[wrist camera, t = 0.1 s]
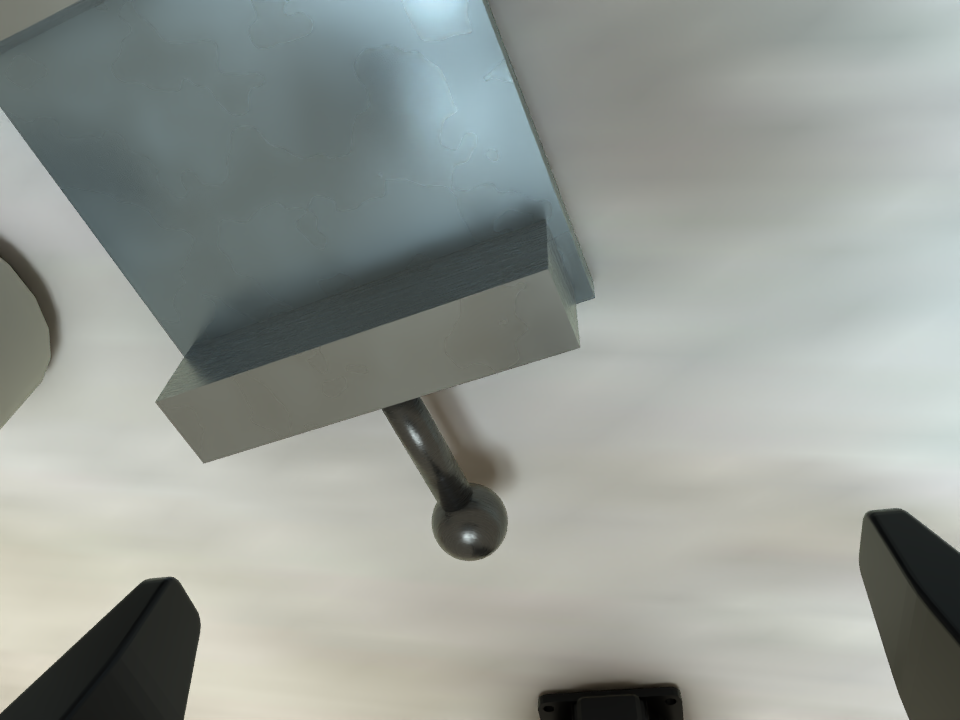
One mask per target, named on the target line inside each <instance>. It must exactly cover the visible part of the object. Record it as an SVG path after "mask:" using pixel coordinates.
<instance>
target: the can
mask: <svg viewBox="0 0 960 720" xmlns="http://www.w3.org/2000/svg"><path fill="white" fill-rule="evenodd" d="M50 359H51V353H50V337H49V328H48V326H47V324H46V321H45V319H44V317H43V314H42V312H41V310H40V307H39V305H38V303H37V300H36V298H35V297H34V295H33V294H32V293H31V291H30V290H29V289H28V288H27V286H26V285H25V284H24V283H23V281H22V280H21V279H20V278H19V276H18V275H17V274H16V273H15V271H14V270H13V269H12V268H11V266H10V265H9V264H8V263H7V262H5V261H4V260H3V259H2V258H0V429H1V428H2V427H3V426H4V424H5V423H6V422H7V421H8V420H9V419H10V418H11V416H12V415H13V414H14V413H15V412H16V411H17V410H18V408H19V407H20V406H21V405H22V404H23V403H24V402H25V400H26V399H27V398H28V397H29V396H30V395H31V394H32V392H33V391H34V390H35V389H36V388H37V387H38V386H39V384H40V383H41V382H42V380H43V377H44V375H45V372H46V369H47V367H48V364H49V362H50Z"/></svg>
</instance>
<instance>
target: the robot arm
mask: <svg viewBox="0 0 960 720" xmlns="http://www.w3.org/2000/svg"><path fill="white" fill-rule="evenodd" d="M859 566H860V571H861V575H862V579H863V582H864V585H865V589H866V592H867V595H868V598H869V601H870V605H871V608H872V611H873V614H874V617H875V621H876V624H877V627H878V630H879V633H880V637H881V640H882V643H883V646H884V649H885V653H886V656H887V659H888V662H889V665H890V669H891V672H892V675H893V678H894V681H895V684H896V687H897V690H898V693H899V696H900V698H901V701H902V703H903V705H904V708H905V710H906V713H907V715H908V717H909V720H960V552H958V551H957V550H956V549H955V548H953V547H952V546H951V545H949V544H948V543H947V542H945V541H944V540H943V539H942V538H940V537H939V536H938V535H936V534H935V533H934V532H933V531H931V530H930V529H929V528H927V527H926V526H925V525H924V524H922V523H921V522H920V521H918V520H917V519H916V518H914V517H913V516H912V515H911V514H909V513H908V512H906V511H905V510H902V509H899V508H892V509H882V510H871V511H868V512H867V513H866V514H865V515H864V518H863V524H862V533H861V542H860V550H859ZM200 627H201V623H200V617H199V614H198V612H197V610H196V608H195V606H194V605H193V603H192V601H191V600H190V598H189V596H188V595H187V593H186V592H185V590H184V588H183V587H182V585H181V583H180V582H179V581H178V580H177V579H175V578H174V577H162V578H151V579H147V580H145V581H143V582H141V583H140V584H139V585H138V586H137V587H136V588H135V589H134V590H132V591H131V592H130V593H129V594H128V595H127V596H126V597H125V598H124V599H123V600H122V601H121V602H120V603H119V604H117V605H116V606H115V607H114V608H113V609H112V610H111V611H110V612H109V613H108V614H107V615H106V616H105V617H103V618H102V619H101V620H100V621H99V622H98V623H97V624H96V625H95V626H94V627H93V628H92V629H91V630H90V631H88V632H87V633H86V634H85V635H84V636H83V637H82V638H81V639H80V640H79V641H78V642H77V643H76V644H75V645H73V646H72V647H71V648H70V649H69V650H68V651H67V652H66V653H65V654H64V655H63V656H62V657H61V658H60V659H58V660H57V661H56V662H55V663H54V664H53V665H52V666H51V667H50V668H49V669H48V670H47V671H46V672H44V673H43V674H42V675H41V676H40V677H39V678H38V679H37V680H36V681H35V682H34V683H33V684H32V685H31V686H29V687H28V688H27V689H26V690H25V691H24V692H23V693H22V694H21V695H20V696H19V697H18V698H17V699H16V700H14V701H13V702H12V703H11V704H10V705H9V706H8V707H7V708H6V709H5V710H4V711H3V712H2V713H1V714H0V720H184V715H185V710H186V705H187V699H188V694H189V689H190V683H191V678H192V673H193V667H194V662H195V657H196V651H197V646H198V641H199V636H200ZM538 711H539V716H540V720H683V707H682V698H681V693H680V690H678V689H677V688H674V687H661V688H645V689H629V690H612V691H596V692H580V693H564V694H547V695H543V696H541V697H539V699H538Z"/></svg>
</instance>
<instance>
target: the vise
mask: <svg viewBox="0 0 960 720" xmlns="http://www.w3.org/2000/svg"><path fill="white" fill-rule="evenodd" d="M0 107H1V109H2V110H3V111H4V113H5V114H6V115H7V117H8V118H9V119H10V121H11V122H12V124H13V125H14V126H15V128H16V129H17V130H18V132H19V133H20V134H21V136H22V137H23V138H24V140H25V141H26V143H27V144H28V145H29V147H30V148H31V149H32V151H33V152H34V153H35V155H36V156H37V157H38V159H39V160H40V162H41V163H42V164H43V166H44V167H45V168H46V170H47V171H48V172H49V174H50V175H51V176H52V178H53V179H54V181H55V182H56V183H57V185H58V186H59V187H60V189H61V190H62V191H63V193H64V194H65V195H66V197H67V198H68V200H69V201H70V202H71V204H72V205H73V206H74V208H75V209H76V210H77V212H78V213H79V214H80V216H81V217H82V219H83V220H84V221H85V223H86V224H87V225H88V227H89V228H90V229H91V231H92V232H93V234H94V235H95V236H96V238H97V239H98V240H99V242H100V243H101V244H102V246H103V247H104V248H105V250H106V251H107V253H108V254H109V255H110V257H111V258H112V259H113V261H114V262H115V263H116V265H117V266H118V267H119V269H120V270H121V272H122V273H123V274H124V276H125V277H126V278H127V280H128V281H129V282H130V284H131V285H132V286H133V288H134V289H135V291H136V292H137V293H138V295H139V296H140V297H141V299H142V300H143V301H144V303H145V304H146V305H147V307H148V308H149V310H150V311H151V312H152V314H153V315H154V316H155V318H156V319H157V320H158V322H159V323H160V324H161V326H162V327H163V329H164V330H165V331H166V333H167V334H168V335H169V337H170V338H171V339H172V341H173V342H174V343H175V345H176V346H177V348H178V349H179V350H180V352H181V353H182V354H183V356H184V358H183V360H182V362H181V363H180V365H179V366H178V368H177V369H176V371H175V372H174V374H173V375H172V377H171V379H170V380H169V382H168V383H167V385H166V386H165V388H164V389H163V391H162V392H161V394H160V396H159V397H158V399H157V400H156V404H157V405H158V406H159V407H160V409H161V410H162V411H163V412H164V414H165V415H166V416H167V418H168V419H169V420H170V421H171V423H172V424H173V425H174V426H175V428H176V429H177V430H178V431H179V433H180V434H181V435H182V437H183V438H184V439H185V440H186V442H187V443H188V444H189V445H190V447H191V448H192V449H193V450H194V452H195V453H196V454H197V456H198V457H199V458H200V459H201V461H202V462H203V463H207V462H210V461H213V460H217V459H220V458H223V457H226V456H230V455H233V454H236V453H239V452H243V451H246V450H249V449H252V448H256V447H259V446H262V445H265V444H269V443H272V442H275V441H278V440H282V439H285V438H288V437H291V436H295V435H298V434H301V433H304V432H308V431H311V430H314V429H317V428H321V427H324V426H327V425H330V424H334V423H337V422H340V421H343V420H347V419H350V418H353V417H356V416H360V415H363V414H366V413H369V412H373V411H376V410H379V409H382V410H383V412H384V414H385V415H386V417H387V419H388V420H389V422H390V424H391V425H392V427H393V429H394V430H395V432H396V434H397V435H398V437H399V439H400V440H401V442H402V444H403V445H404V447H405V449H406V450H407V452H408V454H409V455H410V457H411V459H412V460H413V462H414V464H415V465H416V467H417V469H418V470H419V472H420V474H421V475H422V477H423V479H424V480H425V482H426V484H427V485H428V487H429V489H430V490H431V492H432V494H433V495H434V497H435V499H436V500H437V503H436V506H435V508H434V511H433V515H432V529H433V533H434V537H435V539H436V541H437V543H438V544H439V546H440V547H441V548H442V549H443V550H444V551H445V552H446V553H447V554H449V555H450V556H452V557H454V558H457V559H460V560H465V561H475V560H480V559H483V558H485V557H487V556H489V555H491V554H492V553H493V552H495V551H496V550H497V549H498V547H499V546H500V545H501V544H502V542H503V540H504V538H505V535H506V532H507V526H508V517H507V512H506V508H505V506H504V504H503V502H502V501H501V499H500V498H499V496H498V495H497V494H496V493H494V492H493V491H492V490H491V489H489V488H487V487H485V486H483V485H480V484H475V483H468V481H467V480H466V478H465V476H464V474H463V473H462V471H461V469H460V467H459V465H458V464H457V462H456V460H455V458H454V456H453V455H452V453H451V451H450V449H449V448H448V446H447V444H446V442H445V440H444V439H443V437H442V435H441V433H440V432H439V430H438V428H437V426H436V424H435V423H434V421H433V419H432V417H431V415H430V414H429V412H428V410H427V408H426V407H425V405H424V403H423V401H422V399H421V398H420V397H421V396H424V395H428V394H431V393H434V392H437V391H441V390H444V389H447V388H450V387H454V386H457V385H460V384H463V383H467V382H470V381H473V380H476V379H480V378H483V377H486V376H489V375H493V374H496V373H499V372H502V371H506V370H509V369H512V368H515V367H519V366H522V365H525V364H528V363H532V362H535V361H538V360H541V359H545V358H548V357H551V356H554V355H558V354H561V353H564V352H567V351H571V350H574V349H577V348H580V340H579V330H578V320H577V309H576V304H578V303H581V302H584V301H587V300H590V299H593V298H595V293H594V286H593V281H592V278H591V275H590V273H589V270H588V267H587V265H586V262H585V260H584V257H583V254H582V252H581V249H580V246H579V244H578V241H577V238H576V236H575V233H574V230H573V228H572V225H571V222H570V220H569V217H568V214H567V212H566V209H565V206H564V204H563V201H562V198H561V196H560V193H559V190H558V188H557V185H556V182H555V180H554V177H553V174H552V172H551V169H550V167H549V164H548V161H547V159H546V156H545V153H544V151H543V148H542V145H541V143H540V140H539V137H538V135H537V132H536V129H535V127H534V124H533V121H532V119H531V116H530V113H529V111H528V108H527V105H526V103H525V100H524V97H523V95H522V92H521V89H520V87H519V84H518V82H517V79H516V76H515V74H514V71H513V68H512V66H511V63H510V60H509V58H508V55H507V52H506V50H505V47H504V44H503V42H502V39H501V36H500V34H499V31H498V28H497V26H496V23H495V20H494V18H493V15H492V12H491V10H490V7H489V4H488V2H487V0H0Z"/></svg>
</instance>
